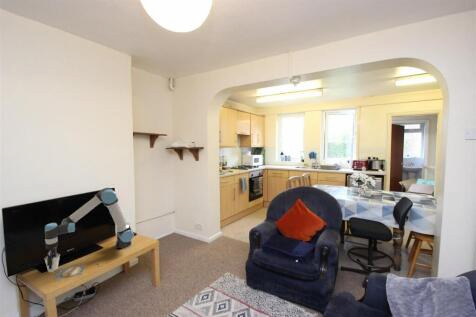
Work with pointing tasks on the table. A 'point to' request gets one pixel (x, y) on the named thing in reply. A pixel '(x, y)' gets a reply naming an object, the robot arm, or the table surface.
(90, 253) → the table surface
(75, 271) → the coaster
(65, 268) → the placemat
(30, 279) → the table surface
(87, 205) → the robot arm
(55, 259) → the cup
